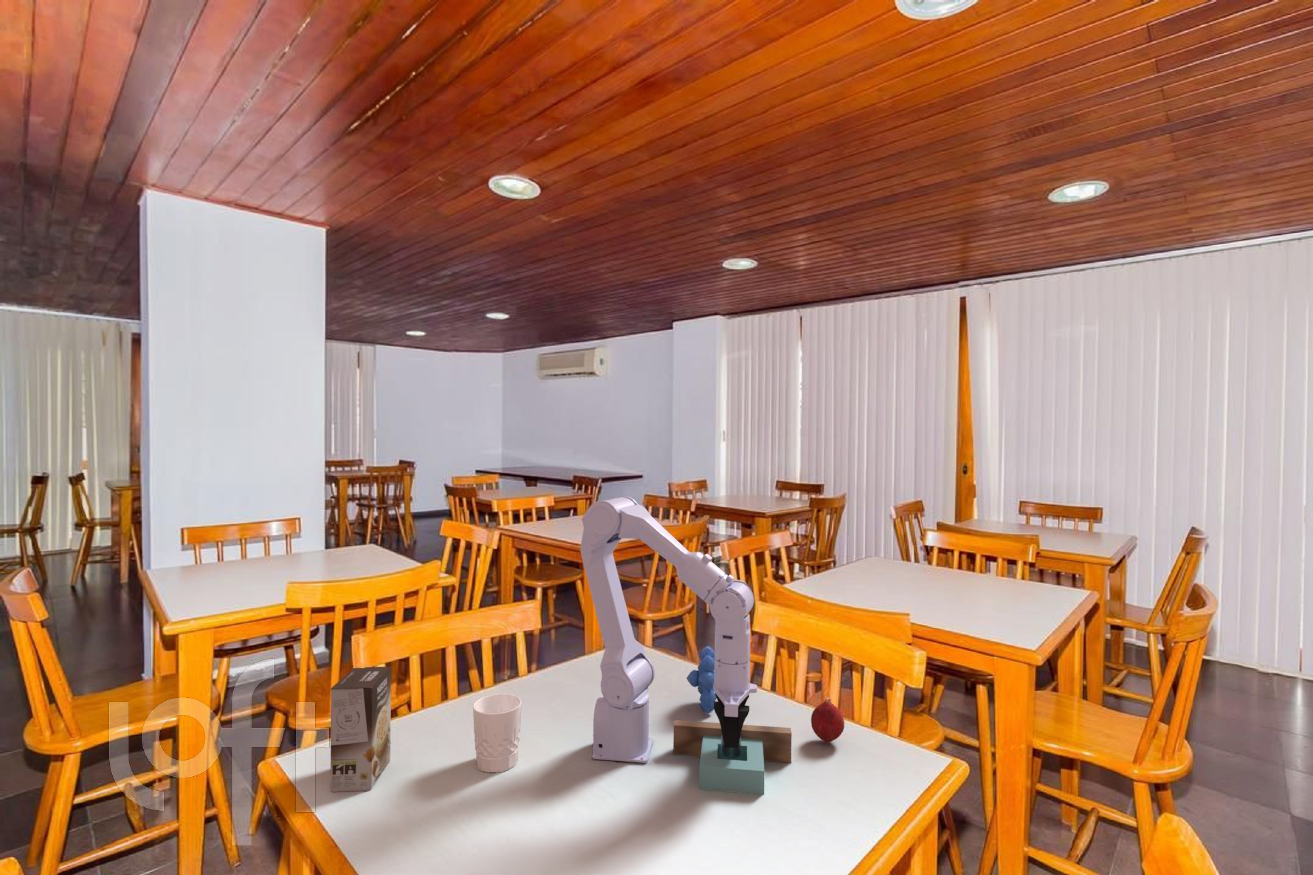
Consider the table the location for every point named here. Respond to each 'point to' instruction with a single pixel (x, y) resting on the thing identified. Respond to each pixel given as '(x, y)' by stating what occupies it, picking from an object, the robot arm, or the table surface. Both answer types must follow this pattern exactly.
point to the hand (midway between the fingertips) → (731, 741)
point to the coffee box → (360, 728)
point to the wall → (773, 738)
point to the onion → (827, 721)
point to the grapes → (705, 679)
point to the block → (732, 767)
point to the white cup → (497, 731)
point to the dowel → (730, 749)
